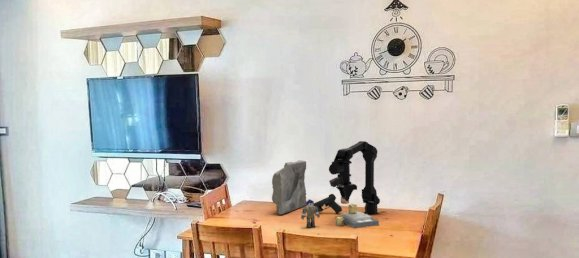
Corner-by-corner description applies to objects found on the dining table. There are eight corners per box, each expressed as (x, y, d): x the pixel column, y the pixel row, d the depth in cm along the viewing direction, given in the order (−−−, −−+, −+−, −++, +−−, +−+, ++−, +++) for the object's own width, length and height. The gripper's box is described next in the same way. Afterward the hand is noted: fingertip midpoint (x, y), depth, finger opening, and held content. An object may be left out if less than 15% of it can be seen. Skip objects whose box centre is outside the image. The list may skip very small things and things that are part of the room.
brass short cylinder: (354, 212, 260) (354, 204, 260) (358, 213, 256) (357, 205, 256) (347, 212, 259) (347, 204, 259) (350, 214, 255) (350, 206, 254)
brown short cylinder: (346, 201, 257) (346, 196, 257) (350, 203, 253) (350, 197, 253) (339, 202, 255) (339, 197, 255) (343, 204, 251) (342, 198, 251)
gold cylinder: (333, 224, 248) (333, 216, 248) (340, 223, 250) (340, 215, 250) (338, 226, 244) (338, 218, 244) (345, 225, 246) (345, 217, 246)
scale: (361, 217, 264) (361, 210, 264) (378, 225, 246) (378, 217, 246) (337, 220, 259) (337, 213, 258) (353, 228, 241) (353, 220, 241)
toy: (303, 229, 241) (302, 200, 240) (300, 227, 245) (299, 199, 244) (321, 226, 245) (320, 198, 244) (317, 225, 249) (317, 197, 248)
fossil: (284, 216, 271) (283, 165, 269) (270, 215, 275) (269, 165, 273) (308, 205, 301) (307, 159, 300) (296, 204, 305) (295, 159, 304)
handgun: (342, 211, 273) (333, 193, 274) (316, 222, 277) (308, 204, 277) (343, 210, 275) (334, 192, 276) (317, 222, 279) (308, 203, 279)
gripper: (324, 171, 260) (324, 198, 260) (338, 175, 242) (338, 205, 243) (342, 170, 263) (342, 197, 264) (357, 174, 245) (357, 203, 246)
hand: (345, 200), depth 254 cm, fingers closed on brown short cylinder, 4 cm apart
